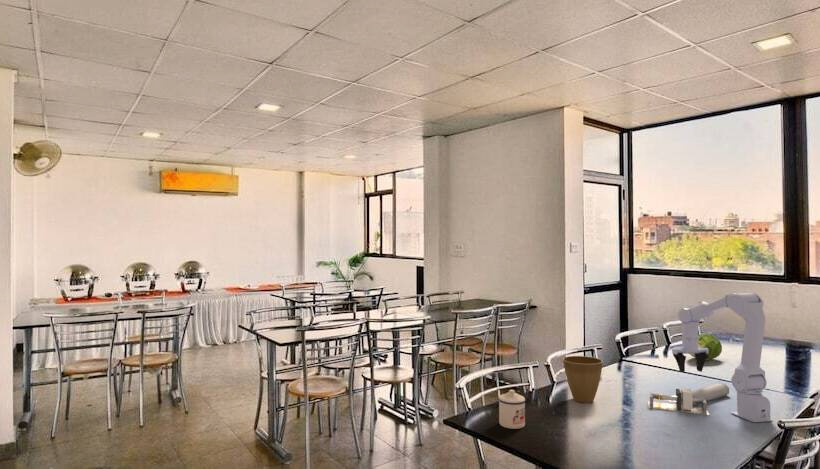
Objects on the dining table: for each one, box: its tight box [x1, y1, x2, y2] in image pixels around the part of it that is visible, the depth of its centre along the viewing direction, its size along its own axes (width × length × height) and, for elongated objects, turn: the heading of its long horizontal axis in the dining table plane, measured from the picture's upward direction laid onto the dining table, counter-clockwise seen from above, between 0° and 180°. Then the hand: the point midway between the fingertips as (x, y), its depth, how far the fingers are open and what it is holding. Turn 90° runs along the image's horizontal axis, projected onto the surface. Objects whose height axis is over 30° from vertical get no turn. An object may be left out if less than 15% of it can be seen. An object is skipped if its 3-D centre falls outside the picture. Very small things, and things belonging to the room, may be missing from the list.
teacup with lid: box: [498, 389, 526, 430], centre depth 165 cm, size 12×9×12 cm
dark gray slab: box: [675, 388, 682, 410], centre depth 180 cm, size 1×6×6 cm, turn 156°
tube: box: [691, 382, 730, 407], centre depth 190 cm, size 5×5×25 cm
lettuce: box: [689, 333, 723, 361], centre depth 254 cm, size 14×23×13 cm, turn 128°
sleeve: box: [680, 387, 693, 410], centre depth 179 cm, size 3×6×6 cm, turn 156°
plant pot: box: [562, 355, 604, 404], centre depth 190 cm, size 15×15×16 cm
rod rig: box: [647, 392, 710, 416], centre depth 180 cm, size 20×8×5 cm, turn 66°
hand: (690, 371), depth 195 cm, fingers open, 7 cm apart
